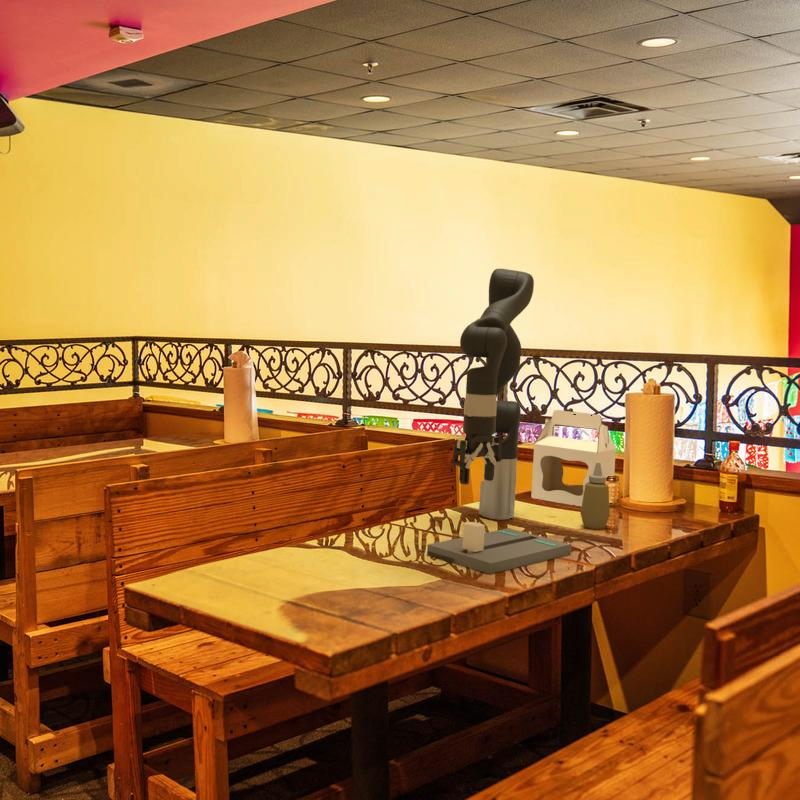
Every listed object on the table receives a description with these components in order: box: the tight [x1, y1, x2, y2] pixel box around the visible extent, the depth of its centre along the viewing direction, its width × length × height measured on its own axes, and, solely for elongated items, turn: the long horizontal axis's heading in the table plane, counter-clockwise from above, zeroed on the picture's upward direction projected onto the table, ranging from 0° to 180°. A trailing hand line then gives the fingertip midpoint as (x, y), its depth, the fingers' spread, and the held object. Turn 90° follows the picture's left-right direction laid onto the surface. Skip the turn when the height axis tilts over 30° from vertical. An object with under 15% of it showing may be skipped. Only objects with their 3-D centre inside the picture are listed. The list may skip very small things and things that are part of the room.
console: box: [426, 527, 572, 575], centre depth 236 cm, size 20×30×3 cm, turn 134°
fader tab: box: [462, 521, 486, 554], centre depth 228 cm, size 4×3×7 cm
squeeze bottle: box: [580, 463, 611, 530], centre depth 269 cm, size 8×8×18 cm
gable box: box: [530, 409, 617, 508], centre depth 304 cm, size 22×13×28 cm, turn 53°
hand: (476, 482), depth 227 cm, fingers open, 8 cm apart
